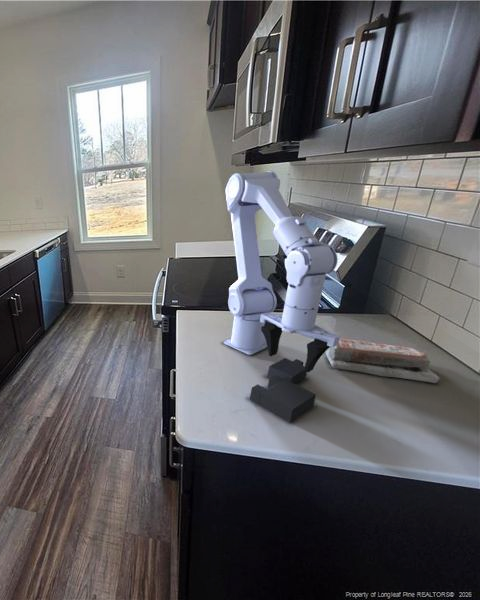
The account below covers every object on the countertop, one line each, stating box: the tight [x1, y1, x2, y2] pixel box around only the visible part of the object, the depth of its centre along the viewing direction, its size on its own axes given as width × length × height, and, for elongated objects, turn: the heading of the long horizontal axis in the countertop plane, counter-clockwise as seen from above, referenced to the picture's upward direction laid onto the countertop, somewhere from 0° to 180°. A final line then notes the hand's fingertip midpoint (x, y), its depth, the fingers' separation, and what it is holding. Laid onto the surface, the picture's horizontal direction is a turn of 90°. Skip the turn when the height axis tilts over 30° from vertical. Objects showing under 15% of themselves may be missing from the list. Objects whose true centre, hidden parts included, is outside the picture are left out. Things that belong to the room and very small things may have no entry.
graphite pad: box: [267, 357, 308, 385], centre depth 71 cm, size 5×8×3 cm, turn 119°
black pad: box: [249, 375, 317, 424], centre depth 63 cm, size 8×8×3 cm
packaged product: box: [324, 338, 440, 384], centre depth 73 cm, size 18×5×10 cm
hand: (289, 362), depth 69 cm, fingers open, 7 cm apart
